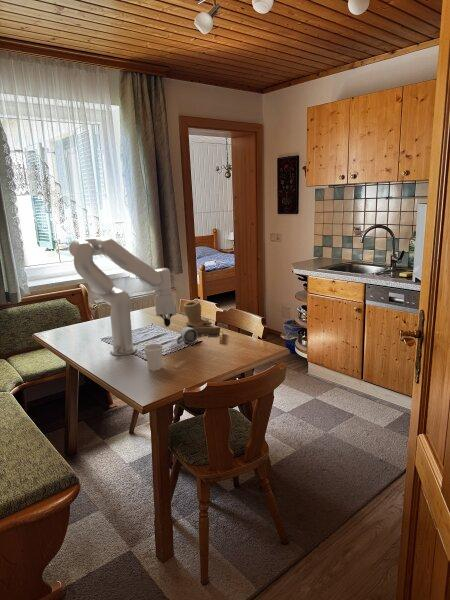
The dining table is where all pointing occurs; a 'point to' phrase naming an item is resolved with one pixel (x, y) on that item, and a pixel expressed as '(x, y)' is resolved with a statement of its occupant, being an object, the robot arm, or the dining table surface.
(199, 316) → the tan boot
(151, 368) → the dixie cup
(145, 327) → the dining table surface
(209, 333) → the trap box
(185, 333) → the ceramic mug
